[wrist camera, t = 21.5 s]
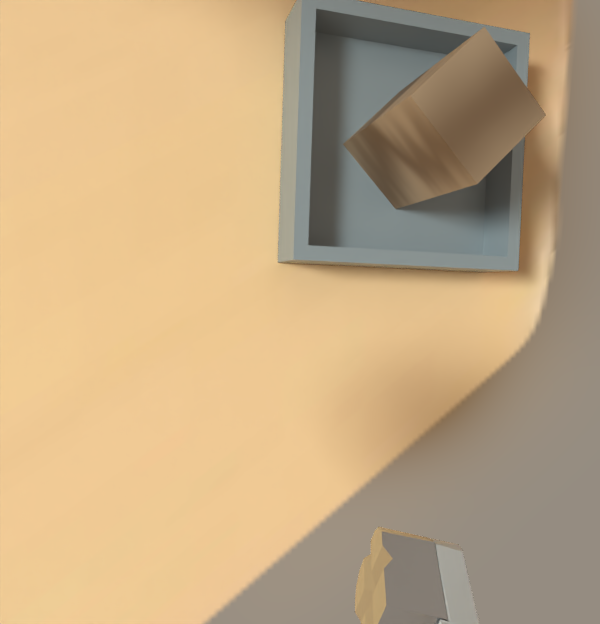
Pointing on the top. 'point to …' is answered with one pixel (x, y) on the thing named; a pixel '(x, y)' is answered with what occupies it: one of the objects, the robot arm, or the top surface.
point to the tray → (352, 116)
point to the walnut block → (447, 125)
